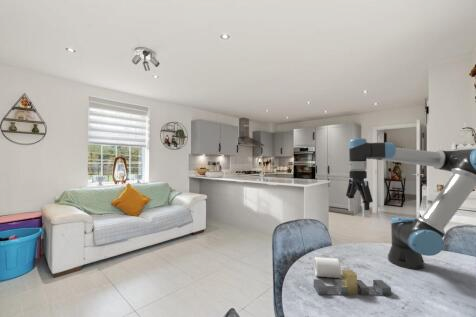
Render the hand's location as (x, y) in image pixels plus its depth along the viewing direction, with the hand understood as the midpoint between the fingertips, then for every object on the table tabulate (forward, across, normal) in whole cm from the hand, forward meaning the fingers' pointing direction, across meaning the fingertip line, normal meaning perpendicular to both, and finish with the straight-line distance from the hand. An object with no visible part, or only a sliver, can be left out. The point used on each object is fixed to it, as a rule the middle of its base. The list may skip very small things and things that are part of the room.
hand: (358, 213), depth 110 cm
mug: (+27, +5, -18) cm, 33 cm away
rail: (+27, +19, -13) cm, 35 cm away
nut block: (+26, +19, -14) cm, 35 cm away
